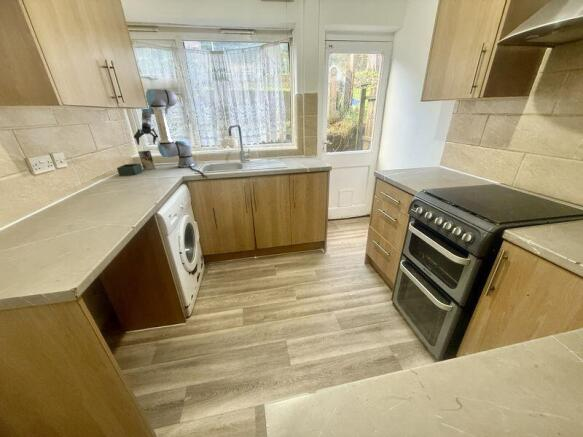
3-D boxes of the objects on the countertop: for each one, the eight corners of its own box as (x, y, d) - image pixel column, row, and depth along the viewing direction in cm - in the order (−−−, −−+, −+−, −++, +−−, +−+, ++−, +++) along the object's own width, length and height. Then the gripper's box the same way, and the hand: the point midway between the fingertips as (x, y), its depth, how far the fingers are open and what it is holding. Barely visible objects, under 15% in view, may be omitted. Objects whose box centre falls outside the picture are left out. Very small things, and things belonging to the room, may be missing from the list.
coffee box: (153, 167, 230) (149, 150, 224) (155, 168, 226) (150, 150, 219) (143, 169, 225) (138, 151, 219) (144, 170, 221) (138, 152, 214)
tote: (127, 172, 216) (125, 164, 213) (142, 171, 218) (140, 163, 215) (119, 176, 203) (116, 167, 200) (135, 175, 204) (133, 166, 202)
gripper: (161, 127, 239) (161, 145, 232) (133, 128, 234) (133, 146, 227) (159, 122, 233) (159, 140, 225) (130, 123, 227) (129, 141, 220)
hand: (146, 143), depth 226 cm, fingers open, 13 cm apart
